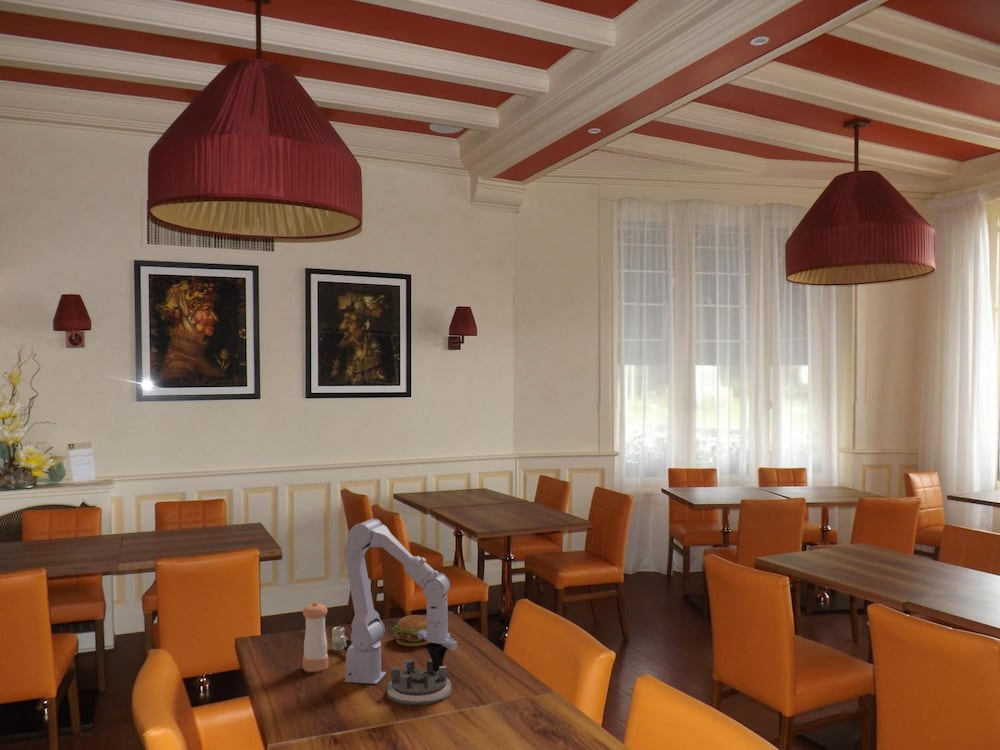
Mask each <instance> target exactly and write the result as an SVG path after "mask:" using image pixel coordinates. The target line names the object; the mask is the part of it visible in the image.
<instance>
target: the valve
mask: <svg viewBox="0 0 1000 750" xmlns="http://www.w3.org/2000/svg"><path fill="white" fill-rule="evenodd" d="M345 631H346V629H345V628H344V626H335V627H333V628H332V629H331V635H332V636H331V643H332V646H331V648H332V649H334V650H342V649H344V650H342V651H345V652H347V650H348V648H349V646H352V645H353V644H352V642H351V639H348V637H347V636H346V635H345V633H346V632H345ZM332 649H331V650H332ZM334 650H333V651H334Z"/></svg>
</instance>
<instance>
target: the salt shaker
mask: <svg viewBox="0 0 1000 750" xmlns="http://www.w3.org/2000/svg"><path fill="white" fill-rule="evenodd" d="M302 614H303V617H304V618H305V633H304V634H305V636H304V642H303V656H302V670H303V669H304V670H305V671H311V672H313V671H320V670H324V669H326V668H327V669H328V668H329V654H328V640H327V639H328V638H327V635H326V616H327V614H328V608H327V606H326V605H324V604H322V603H318V602H317V601H313V602H312V604H311V603H310V604H309V605H306V606H305V607H304V609H303V611H302ZM327 669H326V670H327ZM305 671H304V672H305ZM324 671H325V670H324Z"/></svg>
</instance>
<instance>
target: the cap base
mask: <svg viewBox="0 0 1000 750" xmlns="http://www.w3.org/2000/svg"><path fill="white" fill-rule="evenodd" d="M386 688H387V689H386V690H387V691H386V692H387V694H386V696H387V698H388V699H389V700H390V701H391V702H393V703H396V704H398V705H403V706H412V707H413V706H414V707H415V706H429V705H433V704H436V703H440V702H442V701H444V700H447V698H448V697H450V695H451V693H452V681H451V680H450V679H449V678H448V677H447V683H446V686H445V687H444V688H442V689H441V690H439V691H436V692H433V693H429V694H422V695H410V694H403V693H400V692H397V691H396V690H394V689H393V688H392V680H390V681H389V682H388V684H387V687H386Z"/></svg>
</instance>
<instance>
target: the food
mask: <svg viewBox="0 0 1000 750" xmlns="http://www.w3.org/2000/svg"><path fill="white" fill-rule="evenodd" d="M391 629H392V630H393V633H392V634H393V635H394V637H395V639H396V640H395V641H396V643H397V644H398V645H400V646H405V647H409V648H410V647H411V648H412V647H413V648H414V646H415V647H422V646H426V645H429V644H430V642H428V641H427V640H425V639H419V638H418V631H422V630H425V631H427V616H425V615H421V614H411V615H407V616H404V617H402V618H401V619H400V620H399V621H398V622H397V624H395V625H394V627H392V628H391Z"/></svg>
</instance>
